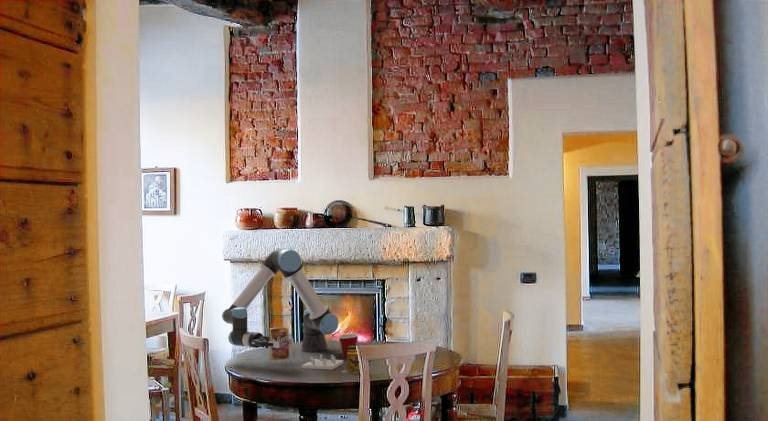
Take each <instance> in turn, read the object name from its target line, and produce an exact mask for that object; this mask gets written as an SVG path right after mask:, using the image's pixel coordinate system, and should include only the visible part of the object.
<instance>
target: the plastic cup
mask: <svg viewBox="0 0 768 421" xmlns="http://www.w3.org/2000/svg"><path fill="white" fill-rule="evenodd" d="M358 336H359V334H358V333H346V334H345V333H344V334H341V335H338V337H337V338H338V339H339V341H340V345H341V347H340V348H341V351H342V357H343V358H344V359H347V352H348V346H357V342H358Z"/></svg>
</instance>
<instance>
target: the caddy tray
mask: <svg viewBox="0 0 768 421" xmlns="http://www.w3.org/2000/svg"><path fill="white" fill-rule="evenodd" d="M313 356H314V355H310V361H308V362H306V363H304V364H302V365H301V369H308V370H309V369H310V370H334V369H336V368H338V367H339V366H341V365H343V364H344V360H343V359H336V356H334V354H330V359H327V358H323V353H320V354H319V358H314V357H313Z"/></svg>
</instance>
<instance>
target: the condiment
mask: <svg viewBox="0 0 768 421" xmlns="http://www.w3.org/2000/svg"><path fill="white" fill-rule="evenodd" d="M356 346H357V345H356ZM356 346H348V352H347V358H346V359H347V360H346V366H347V369H345V370H343V371H341V373H348V374H358V373H361V372H360V370H361V368H360V369H359V361H358V355H357V351H356Z"/></svg>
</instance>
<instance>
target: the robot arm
mask: <svg viewBox="0 0 768 421" xmlns="http://www.w3.org/2000/svg"><path fill="white" fill-rule="evenodd" d="M303 268H304V266H303V264H302V258H301V255H300V253H298V252H297V251H296V250H294V249H291V248H285V249H284V248H277V249H275V250H273V251H272V252H270V253H269V254H268V255H267V257H266V258H265V259H264V261H263V262H262V263H261V264H260V269H259V270H258V271H257V273H256V274H255V275H254V276H253V277H252V279H251V280H250V281H249V283H248V284H247V285H246V286H245V288H244V289H243V290H242V291H241V292H240V294H238V296H237V297H236V299H235V300H234V302H233V303H232V304H231V305H230V306H229V308H225V309H224V310H223V311H222V314H221V318H222V321H223V322H225V323H226V324H229V325H230V324H231V325H232V331H231V332H230V331H229V334H228V339H227V340H228V342H229V343H230V345H232V346H236V347H245V348H246V347H248V348H249V349H251V348H255V349H260V348H265V349H269V348H270V347H275V348H279V342H275V341H270V336H266V335H263V333H262V332H256V331H248V316H249V315H248V307H249V306H250V305H251V304H252V302H253V301H254V300H255V299H256V297H257V296H258V295H259V294H260V292H261V291H262V290H263V288H264V287H265V286H266V285H267V283H268V282H269V281H270V280H271V278H272V277H275V276H276V275H277V274H278V273H279V272H280V273H281V275H282V277H283V278H285V279H288V280H289V282H290V283H291V285H292V287H293V289H294V290H295V292H296V293H297V295H298V297H299V298H300V300H301V301H302V303H303V305H304V306H305V308H306V309H305V310H304V311H303V316H302V318H303V339H302V341H301V342H302V343H301V346H300V347H301V348H300V351H302V352H307V353H309V352H312V353H313V352H314V353H316V352H324V351H327V350H328V349H329V348H328V346H329V345H328V343H327V340H326V337H325V335H333V334H334V333H335V332H336V331H337V330H338V328H339V322H340V321H339V317H338V316H337V315H336V314H334V313H332V311H331V309H330V308H329V307H328V305H324V303H323V302H322V300H321V299H320V298H319V296H318V295H317V292H316V291H315V289H314V287H313V286H312V284H311V283H310V281H309V279H308V277H307V276H306V275H305V272H304V271H303ZM294 340H295V339H294V338H289V345H294V343H295V342H294Z"/></svg>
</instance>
